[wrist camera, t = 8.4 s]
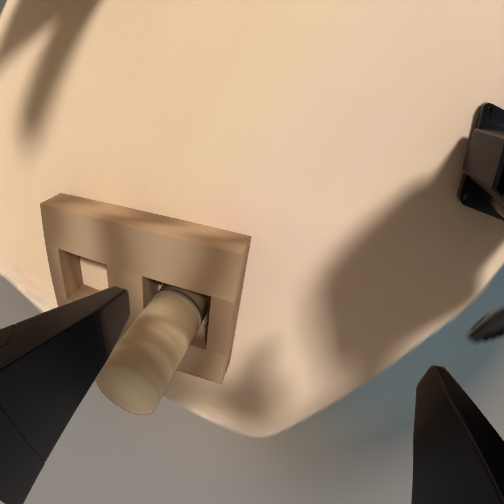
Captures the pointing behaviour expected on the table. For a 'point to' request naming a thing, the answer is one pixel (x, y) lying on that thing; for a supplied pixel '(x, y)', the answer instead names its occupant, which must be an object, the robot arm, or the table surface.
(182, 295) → the dowel
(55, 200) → the board
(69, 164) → the table surface
